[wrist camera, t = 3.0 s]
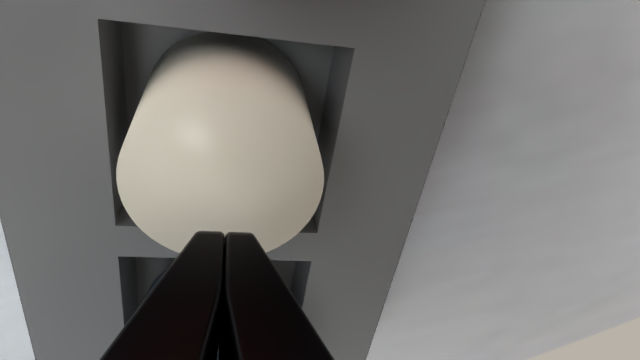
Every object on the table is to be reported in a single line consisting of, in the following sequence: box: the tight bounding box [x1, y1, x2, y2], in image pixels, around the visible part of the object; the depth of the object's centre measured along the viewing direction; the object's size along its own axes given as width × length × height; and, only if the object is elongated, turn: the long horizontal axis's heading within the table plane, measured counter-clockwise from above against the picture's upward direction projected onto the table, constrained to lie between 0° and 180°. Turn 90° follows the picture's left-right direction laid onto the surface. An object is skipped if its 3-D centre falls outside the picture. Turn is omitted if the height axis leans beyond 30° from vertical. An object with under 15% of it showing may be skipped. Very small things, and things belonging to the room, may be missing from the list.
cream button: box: [116, 31, 324, 253], centre depth 11 cm, size 4×4×4 cm
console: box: [0, 0, 485, 360], centre depth 12 cm, size 18×10×3 cm, turn 171°
